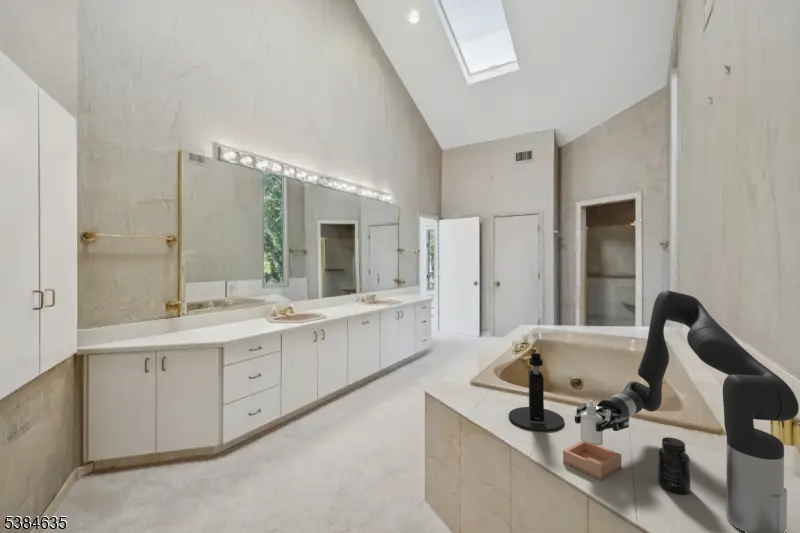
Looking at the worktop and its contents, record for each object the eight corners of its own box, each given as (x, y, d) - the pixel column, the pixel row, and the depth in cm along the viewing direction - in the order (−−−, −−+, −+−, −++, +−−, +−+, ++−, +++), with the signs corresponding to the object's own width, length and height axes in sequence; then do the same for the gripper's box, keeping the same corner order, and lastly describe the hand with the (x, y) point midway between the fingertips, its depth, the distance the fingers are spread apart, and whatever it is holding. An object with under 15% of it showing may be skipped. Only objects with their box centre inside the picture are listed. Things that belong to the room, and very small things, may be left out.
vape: (509, 429, 133) (508, 358, 132) (507, 407, 151) (506, 345, 151) (568, 434, 128) (568, 360, 127) (559, 411, 147) (558, 346, 146)
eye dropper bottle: (597, 448, 106) (596, 406, 106) (578, 440, 111) (577, 399, 110) (605, 443, 109) (605, 402, 108) (586, 435, 113) (585, 396, 113)
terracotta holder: (621, 466, 108) (621, 454, 108) (600, 480, 102) (600, 467, 102) (584, 450, 117) (584, 439, 117) (563, 462, 111) (562, 450, 111)
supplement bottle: (659, 476, 103) (659, 432, 103) (691, 485, 99) (691, 439, 98) (656, 488, 98) (656, 442, 97) (689, 499, 93) (689, 450, 93)
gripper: (593, 390, 123) (563, 403, 114) (642, 404, 111) (612, 419, 102) (594, 412, 123) (563, 427, 114) (642, 429, 112) (612, 447, 102)
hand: (586, 423), depth 108 cm, fingers closed on eye dropper bottle, 5 cm apart
